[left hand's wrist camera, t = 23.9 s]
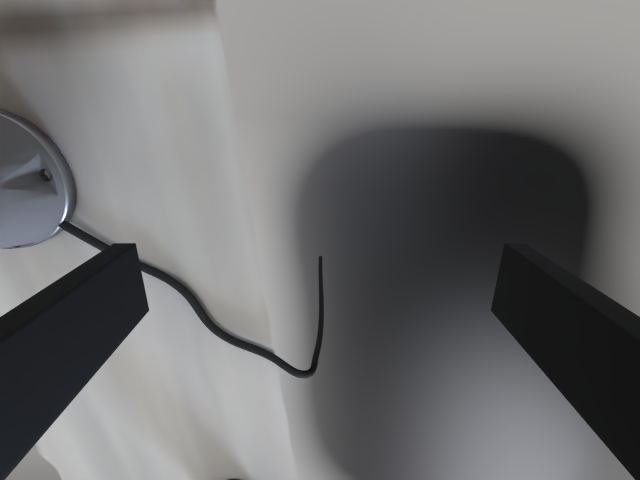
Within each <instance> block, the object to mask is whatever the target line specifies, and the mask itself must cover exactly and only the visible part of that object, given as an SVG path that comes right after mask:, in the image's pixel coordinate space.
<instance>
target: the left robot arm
mask: <svg viewBox="0 0 640 480" xmlns="http://www.w3.org/2000/svg"><path fill="white" fill-rule="evenodd" d="M75 201H76V192H75V184H74V180H73V176H72V173H71V170H70V168H69V166H68V164H67V162H66V160H65V158H64V157H63V155H62V154H61V152H60V151H59V149H58V148H57V147H56V145H55V144H54V143H53V142H52V141H51V140H50V139H49V138H48V137H47V136H46V135H45V134H44V133H43V132H42V131H41V130H39V129H38V128H37V127H35V126H34V125H33V124H31V123H30V122H28V121H26V120H24V119H23V118H21V117H18V116H16V115H14V114H11V113H9V112H5V111H2V110H0V248H3V249H13V248H23V247H29V246H33V245H36V244H38V243H41V242H43V241H45V240H47V239H49V238H51V237H53V236H55V235H56V234H58V233H59V232H60V231H62V230H65V231H67V232H69V233H70V234H72V235H74V236H76V237H78V238H79V239H81V240H83V241H85V242H87V243H88V244H90V245H92V246H94V247H96V248H97V249H99V250H101V251H102V252H100V253H99V254H97V255H95V256H94V257H92V258H91V259H89V260H88V261H86V262H85V263H83V264H82V265H80V266H78V267H77V268H75V269H74V270H72V271H71V272H69V273H68V274H66V275H65V276H63V277H61V278H60V279H58V280H57V281H55V282H54V283H52V284H51V285H49V286H48V287H46V288H45V289H43V290H41V291H40V292H38V293H37V294H35V295H34V296H32V297H31V298H29V299H28V300H26V301H24V302H23V303H21V304H20V305H18V306H17V307H15V308H14V309H12V310H11V311H9V312H7V313H6V314H4V315H3V316H1V317H0V480H5V479H6V478H7V476H8V475H9V474H10V473H11V472H12V470H13V469H14V468H15V467H16V466H17V465H18V463H19V462H20V461H21V460H22V459H23V458H24V456H25V455H26V454H27V453H28V452H29V451H30V449H31V448H32V447H33V446H34V445H35V444H36V442H37V441H38V440H39V439H40V438H41V437H42V435H43V434H44V433H45V432H46V431H47V430H48V428H49V427H50V426H51V425H52V424H53V422H54V421H55V420H56V419H57V418H58V417H59V415H60V414H61V413H62V412H63V411H64V410H65V408H66V407H67V406H68V405H69V404H70V403H71V401H72V400H73V399H74V398H75V397H76V396H77V394H78V393H79V392H80V391H81V390H82V388H83V387H84V386H85V385H86V384H87V383H88V381H89V380H90V379H91V378H92V377H93V376H94V374H95V373H96V372H97V371H98V370H99V369H100V367H101V366H102V365H103V364H104V363H105V362H106V360H107V359H108V358H109V357H110V356H111V354H112V353H113V352H114V351H115V350H116V349H117V347H118V346H119V345H120V344H121V343H122V342H123V340H124V339H125V338H126V337H127V336H128V335H129V333H130V332H131V331H132V330H133V329H134V328H135V326H136V325H137V324H138V323H139V322H140V320H141V319H142V318H143V317H144V316H145V315H146V313H147V312H148V311H149V307H148V302H147V298H146V293H145V288H144V283H143V278H142V273H141V271H143V272H145V273H147V274H150V275H152V276H154V277H156V278H158V279H160V280H162V281H164V282H166V283H167V284H169V285H170V286H172V287H173V288H174V289H176V290H177V291H178V292H179V293H181V294H182V295H183V296H184V297H185V299H186V300H187V301H188V302H189V303H190V305H191V306H192V308H193V309H194V311H195V312H196V314H197V315H198V317H199V318H200V319H201V321H202V322H203V323H204V324H205V326H206V327H207V328H208V329H209V330H210V331H211V332H213V333H214V334H215V335H217V336H218V337H219V338H221V339H223V340H224V341H226V342H228V343H230V344H232V345H234V346H236V347H239V348H241V349H244V350H247V351H250V352H252V353H255V354H257V355H260V356H262V357H264V358H266V359H268V360H270V361H272V362H273V363H275V364H276V365H278V366H279V367H281V368H282V369H283V370H285V371H286V372H288V373H290V374H291V375H293V376H295V377H298V378H308V377H311V376H312V375H314V374H315V372H316V369H317V366H318V359H319V354H320V350H321V345H322V338H323V328H324V294H323V271H322V256H319V265H318V276H319V321H318V332H317V339H316V345H315V349H314V353H313V357H312V362H311V367H310V369H309V370H306V371H302V370H298V369H296V368H294V367H292V366H291V365H289V364H288V363H286V362H285V361H283V360H282V359H281V358H279V357H278V356H276V355H275V354H273V353H271V352H269V351H267V350H265V349H262V348H260V347H258V346H255V345H252V344H250V343H247V342H244V341H242V340H239V339H237V338H235V337H233V336H231V335H229V334H227V333H226V332H224V331H223V330H221V329H220V328H219V327H217V326H216V325H215V324H214V323H213V322H212V321H211V320H210V318H209V317H208V316H207V314H206V313H205V311H204V310H203V308H202V307H201V305H200V304H199V302H198V301H197V299H196V298H195V297H194V296H193V294H192V293H191V292H190V291H189V290H188V289H187V288H186V287H185V286H184V285H182V284H181V283H180V282H178V281H177V280H176V279H174V278H173V277H171V276H169V275H168V274H166V273H164V272H162V271H160V270H158V269H156V268H154V267H151V266H149V265H147V264H144V263H142V262H140V261H139V258H138V253H137V248H136V243H114V244H112V245H111V246H109V245H107V244H105V243H104V242H102V241H100V240H98V239H97V238H95V237H93V236H91V235H90V234H88V233H86V232H84V231H82V230H81V229H79V228H77V227H75V226H74V225H72V224H70V223H68V222H69V220H70V219H71V217H72V214H73V211H74V208H75ZM491 311H492V312H493V313H494V315H495V316H496V317H497V318H498V319H499V320H500V322H501V323H502V324H503V325H504V326H505V328H506V329H507V330H508V331H509V332H510V333H511V334H512V336H513V337H514V338H515V339H516V340H517V342H518V343H519V344H520V345H521V346H522V347H523V349H524V350H525V351H526V352H527V353H528V354H529V356H530V357H531V358H532V359H533V360H534V362H535V363H536V364H537V365H538V366H539V367H540V368H541V370H542V371H543V372H544V373H545V374H546V376H547V377H548V378H549V379H550V380H551V381H552V383H553V384H554V385H555V386H556V387H557V388H558V390H559V391H560V392H561V393H562V394H563V395H564V397H565V398H566V399H567V400H568V401H569V402H570V404H571V405H572V406H573V407H574V408H575V410H576V411H577V412H578V413H579V414H580V415H581V417H582V418H583V419H584V420H585V421H586V422H587V424H588V425H589V426H590V427H591V428H592V430H593V431H594V432H595V433H596V434H597V435H598V437H599V438H600V439H601V440H602V441H603V442H604V444H605V445H606V446H607V447H608V448H609V449H610V451H611V452H612V453H613V454H614V455H615V456H616V458H617V459H618V460H619V461H620V462H621V464H622V465H623V466H624V467H625V468H626V469H627V471H628V472H629V473H630V474H631V475H632V476H633V478H634V479H635V480H640V317H639V316H637V315H636V314H634V313H633V312H631V311H629V310H628V309H626V308H625V307H623V306H622V305H620V304H619V303H617V302H616V301H614V300H612V299H611V298H609V297H608V296H606V295H605V294H603V293H602V292H600V291H599V290H597V289H595V288H594V287H592V286H591V285H589V284H588V283H586V282H585V281H583V280H582V279H580V278H578V277H577V276H575V275H574V274H572V273H571V272H569V271H568V270H566V269H565V268H563V267H561V266H560V265H558V264H557V263H555V262H554V261H552V260H551V259H549V258H548V257H546V256H545V255H543V254H541V253H540V252H538V251H537V250H535V249H534V248H532V247H531V246H529V245H528V244H526V243H525V244H524V243H506V244H504V248H503V253H502V258H501V263H500V268H499V273H498V278H497V283H496V288H495V293H494V298H493V302H492V308H491Z"/></svg>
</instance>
